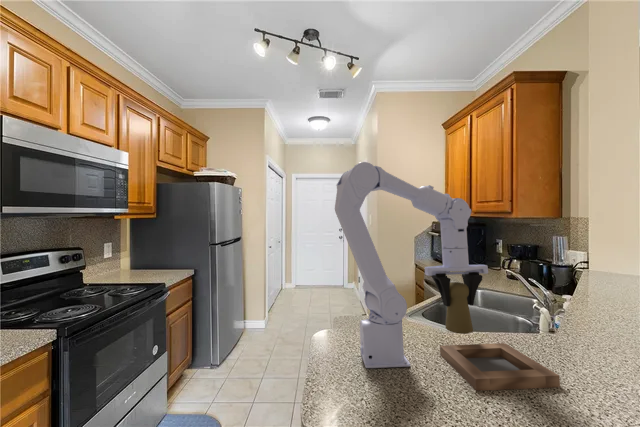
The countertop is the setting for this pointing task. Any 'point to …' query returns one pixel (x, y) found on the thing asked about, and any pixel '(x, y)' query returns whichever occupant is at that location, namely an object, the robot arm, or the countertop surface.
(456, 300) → the cork
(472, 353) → the holder
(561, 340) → the countertop surface
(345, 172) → the robot arm
